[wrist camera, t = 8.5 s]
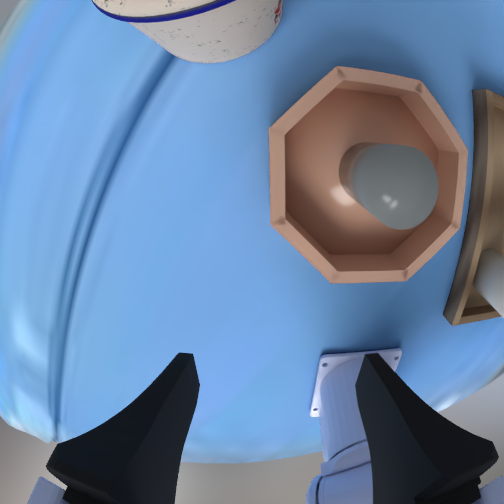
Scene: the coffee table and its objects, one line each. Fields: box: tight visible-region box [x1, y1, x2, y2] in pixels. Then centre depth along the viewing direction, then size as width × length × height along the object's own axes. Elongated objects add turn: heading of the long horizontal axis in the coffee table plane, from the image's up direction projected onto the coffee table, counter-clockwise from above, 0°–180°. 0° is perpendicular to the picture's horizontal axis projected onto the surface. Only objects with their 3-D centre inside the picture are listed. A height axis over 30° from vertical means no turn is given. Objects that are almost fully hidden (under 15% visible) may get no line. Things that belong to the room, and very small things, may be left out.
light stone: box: [472, 248, 504, 318], centre depth 16 cm, size 4×4×6 cm
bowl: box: [269, 66, 468, 284], centre depth 15 cm, size 13×13×3 cm
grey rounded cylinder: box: [339, 142, 439, 230], centre depth 14 cm, size 4×4×6 cm
